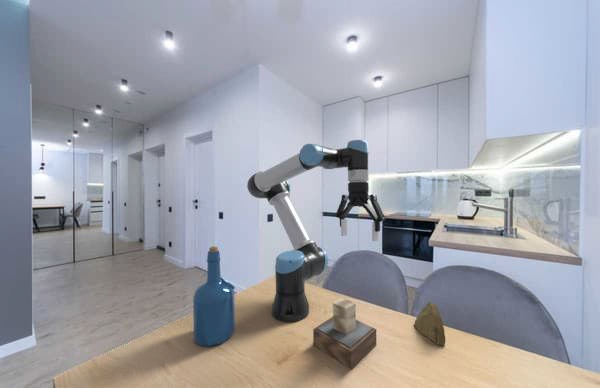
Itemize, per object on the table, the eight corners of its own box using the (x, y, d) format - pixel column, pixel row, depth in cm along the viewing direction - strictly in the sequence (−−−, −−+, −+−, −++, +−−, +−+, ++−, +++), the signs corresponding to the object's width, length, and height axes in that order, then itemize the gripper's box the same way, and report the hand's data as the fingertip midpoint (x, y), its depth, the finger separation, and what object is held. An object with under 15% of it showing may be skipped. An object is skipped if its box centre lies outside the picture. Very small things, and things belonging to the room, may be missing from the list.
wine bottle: (199, 354, 67) (198, 254, 67) (188, 333, 78) (187, 246, 77) (242, 335, 76) (241, 247, 76) (227, 319, 86) (226, 240, 86)
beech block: (333, 328, 71) (333, 302, 71) (342, 321, 74) (342, 297, 74) (346, 335, 67) (346, 308, 67) (355, 328, 71) (355, 302, 71)
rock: (456, 342, 68) (448, 320, 77) (437, 318, 69) (431, 299, 78) (424, 354, 72) (420, 332, 81) (406, 332, 73) (404, 312, 82)
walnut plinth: (313, 344, 71) (313, 328, 71) (339, 326, 81) (339, 311, 81) (351, 369, 61) (351, 350, 61) (376, 344, 71) (376, 328, 71)
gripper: (326, 183, 92) (327, 234, 92) (384, 179, 73) (385, 244, 74) (338, 183, 97) (338, 232, 97) (395, 180, 78) (395, 241, 79)
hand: (358, 237), depth 85 cm, fingers open, 13 cm apart
